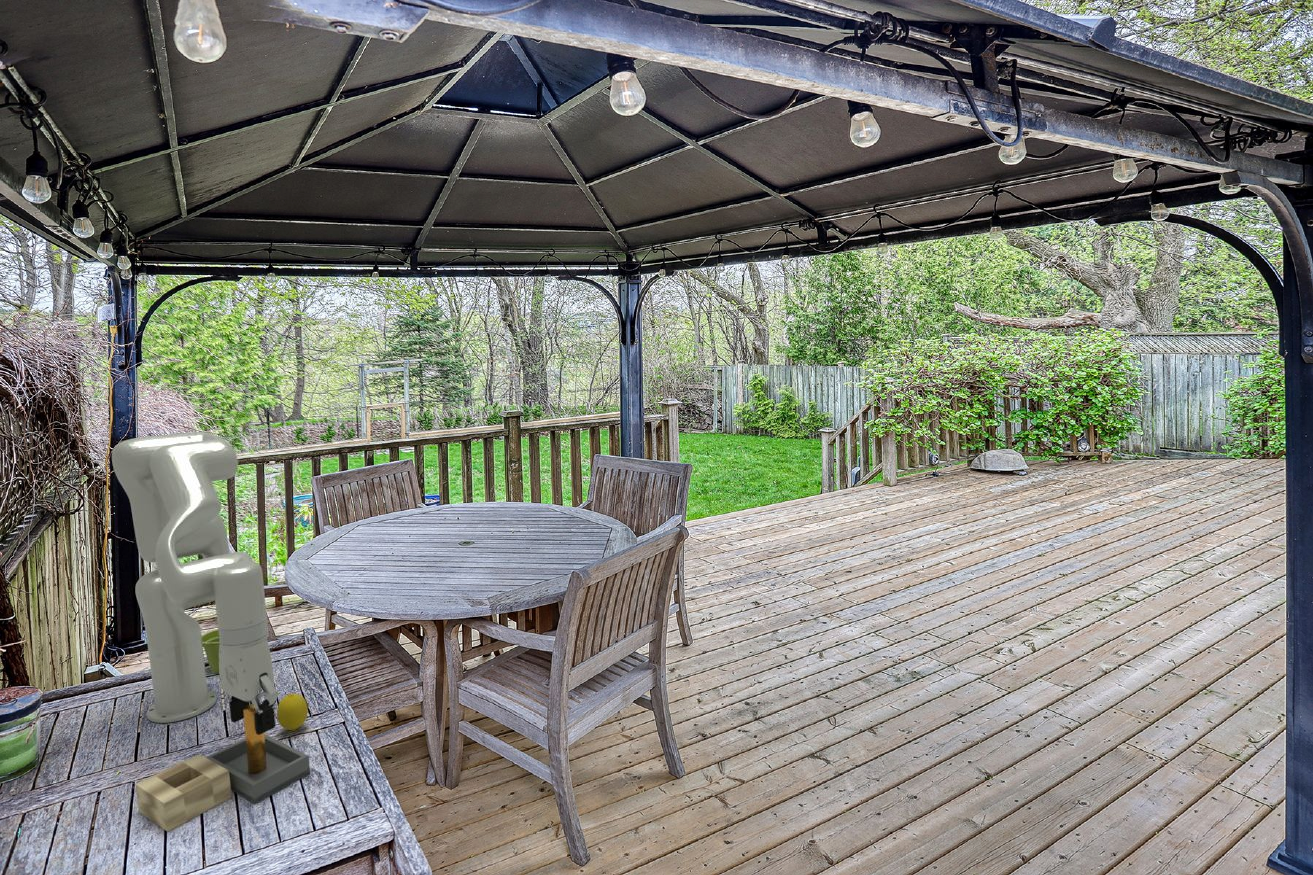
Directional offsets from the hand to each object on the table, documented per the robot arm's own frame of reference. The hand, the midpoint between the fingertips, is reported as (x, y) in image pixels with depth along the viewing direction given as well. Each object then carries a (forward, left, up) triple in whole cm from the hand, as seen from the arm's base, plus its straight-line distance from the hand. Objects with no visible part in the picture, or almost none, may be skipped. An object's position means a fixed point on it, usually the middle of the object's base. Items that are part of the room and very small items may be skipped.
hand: (253, 724), depth 126 cm
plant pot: (-50, +20, -10) cm, 55 cm away
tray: (0, 0, -10) cm, 10 cm away
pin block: (-2, -11, -10) cm, 15 cm away
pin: (0, 0, -9) cm, 9 cm away
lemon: (-8, +12, -10) cm, 18 cm away
